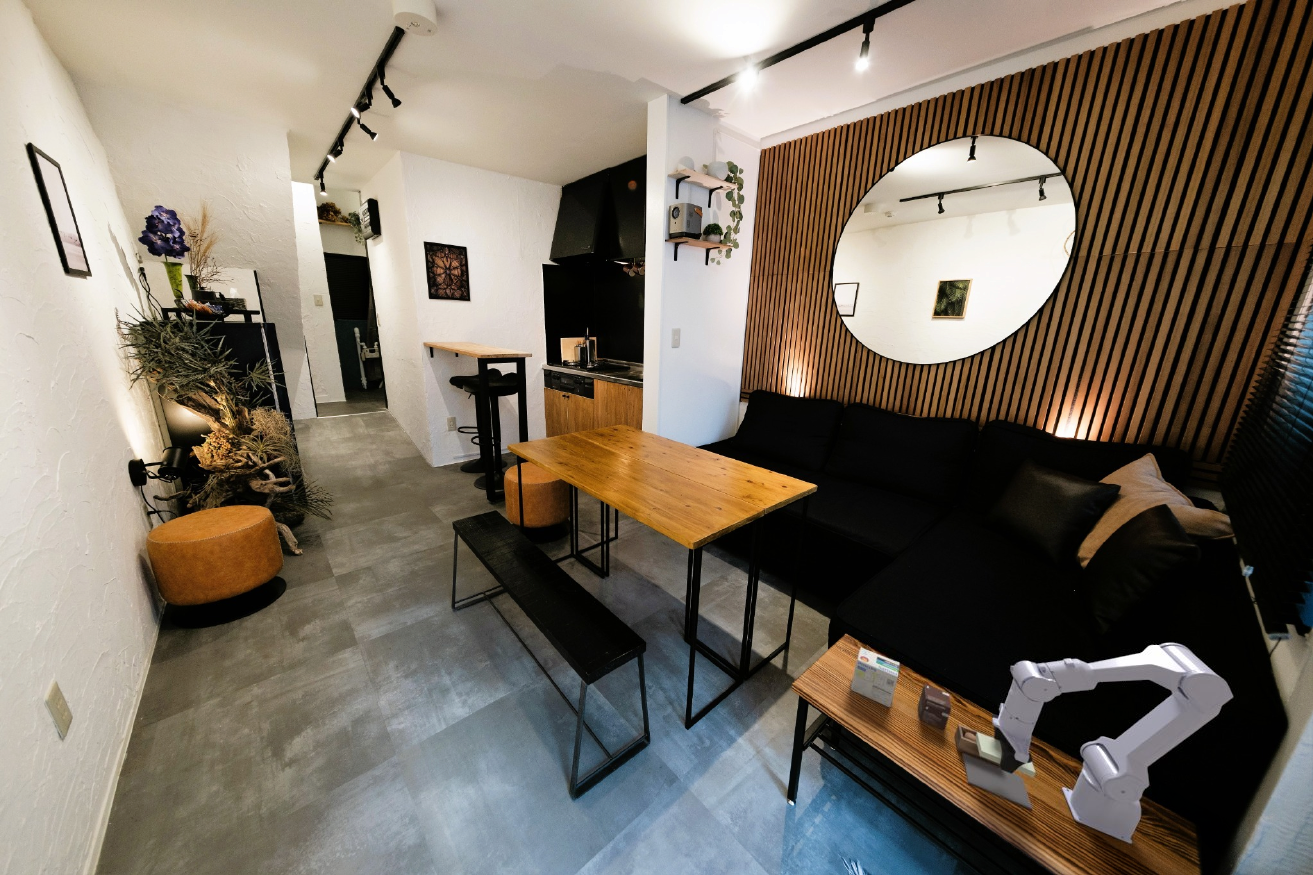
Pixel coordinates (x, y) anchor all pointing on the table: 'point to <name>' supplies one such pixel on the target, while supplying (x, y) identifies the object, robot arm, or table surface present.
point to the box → (934, 706)
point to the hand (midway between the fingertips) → (1002, 758)
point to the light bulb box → (875, 676)
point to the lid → (998, 753)
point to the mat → (996, 780)
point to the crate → (969, 743)
